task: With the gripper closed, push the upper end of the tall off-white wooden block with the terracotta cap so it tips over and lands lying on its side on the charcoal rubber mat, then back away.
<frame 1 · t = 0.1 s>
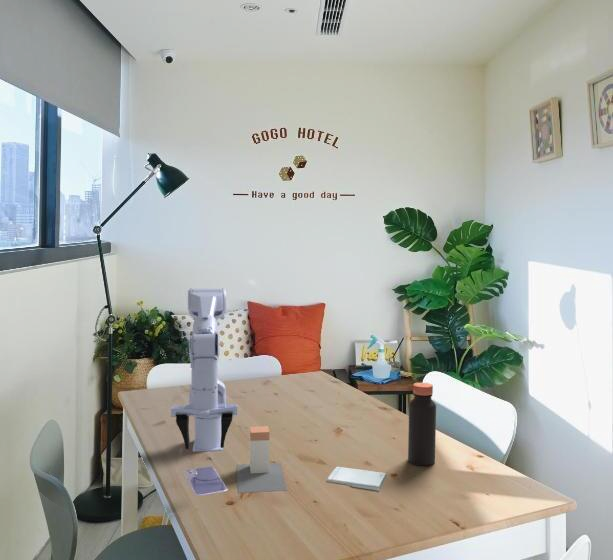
hand: (204, 446, 125), 10 cm above the table, fingers open, 7 cm apart
mobile phone: (204, 483, 131), on the table
bottle: (421, 462, 144), on the table
block: (259, 469, 137), resting on mat
hard drive: (357, 482, 132), on the table
mat: (260, 478, 133), on the table
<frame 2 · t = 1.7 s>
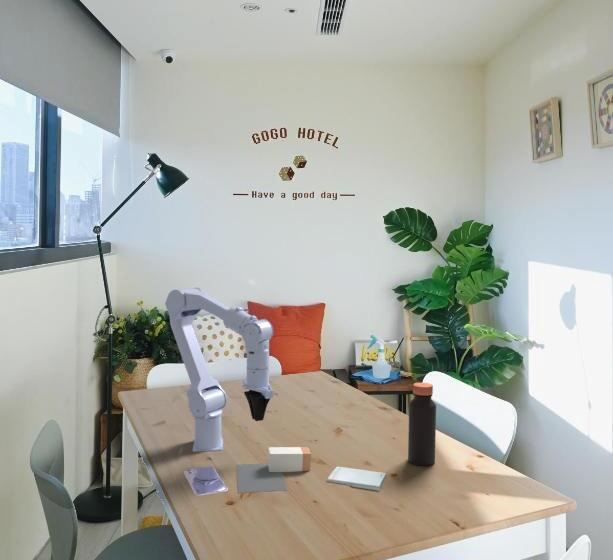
hand: (257, 419, 144), 10 cm above the table, fingers closed
block: (268, 459, 137), point 3 cm above the table, tilted 93°, touching mat
everything else where it was.
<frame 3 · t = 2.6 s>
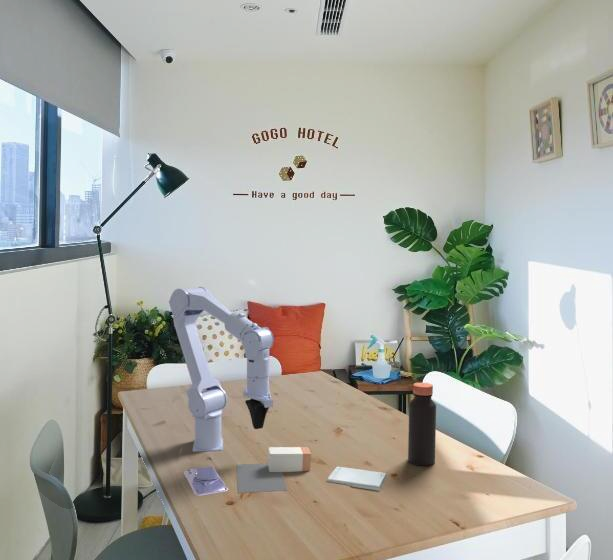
hand: (258, 427, 143), 8 cm above the table, fingers closed
nothing on the table moved.
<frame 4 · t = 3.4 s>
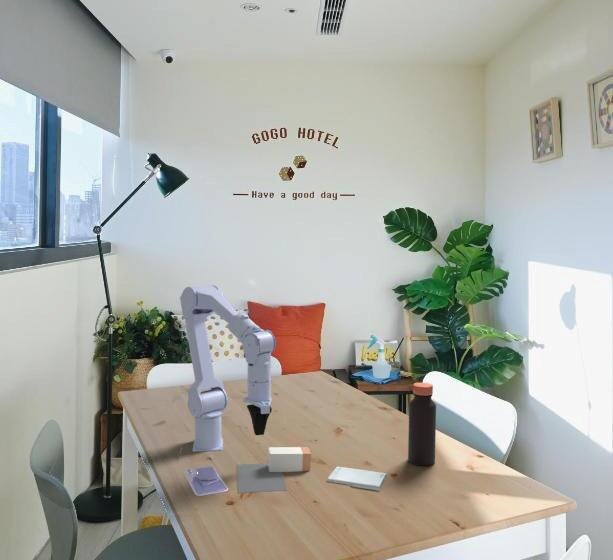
hand: (259, 434, 138), 8 cm above the table, fingers closed
nothing on the table moved.
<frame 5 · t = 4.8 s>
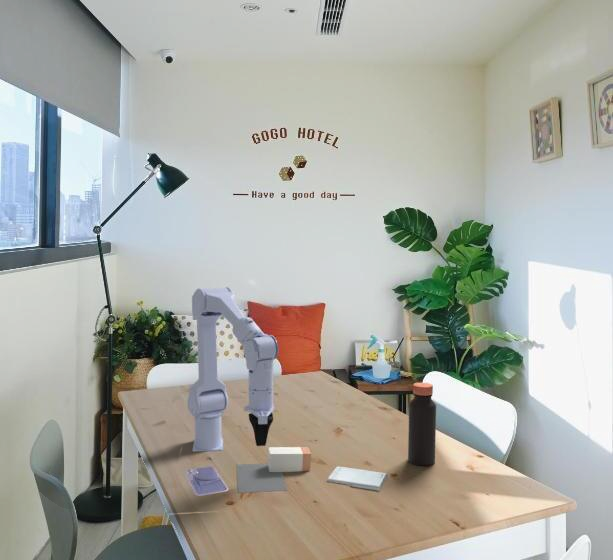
hand: (260, 444, 131), 8 cm above the table, fingers closed
nothing on the table moved.
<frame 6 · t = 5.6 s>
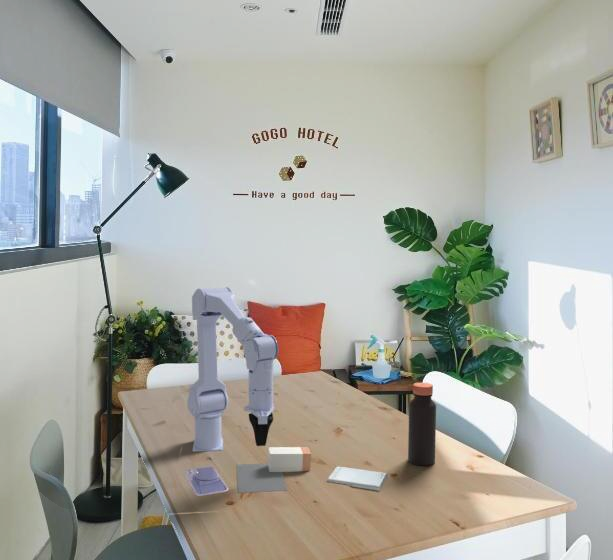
hand: (260, 444, 131), 8 cm above the table, fingers closed
nothing on the table moved.
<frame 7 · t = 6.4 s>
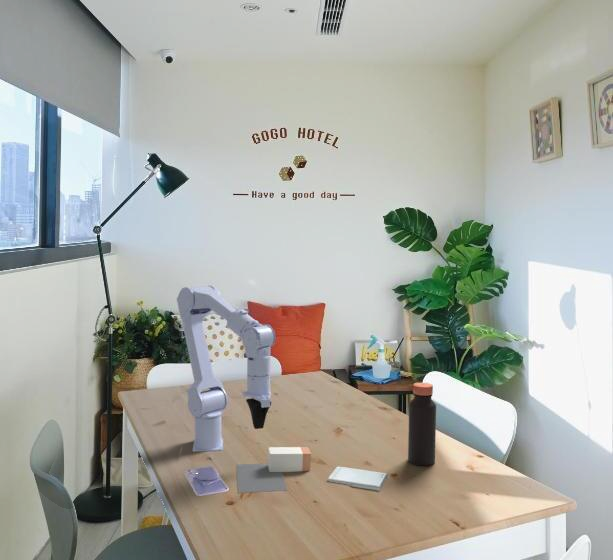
hand: (258, 427, 140), 10 cm above the table, fingers closed
nothing on the table moved.
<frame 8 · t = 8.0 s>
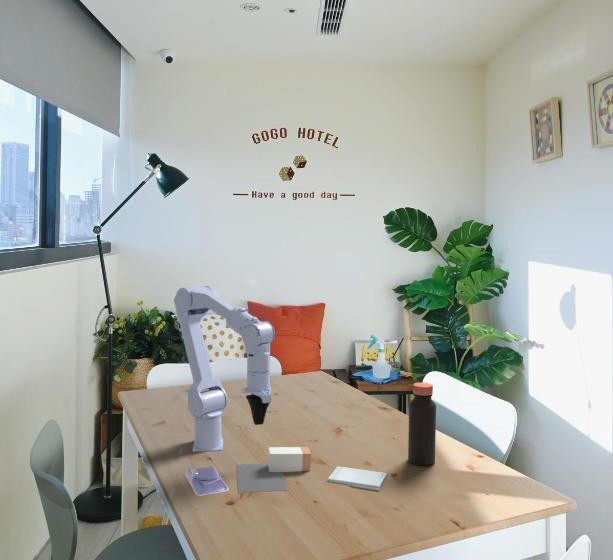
hand: (258, 423, 140), 10 cm above the table, fingers closed
nothing on the table moved.
at the end: block tilted 93°; block inside the target area (5.9 cm from its centre), point 2.7 cm above the table; block touching mat, table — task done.
